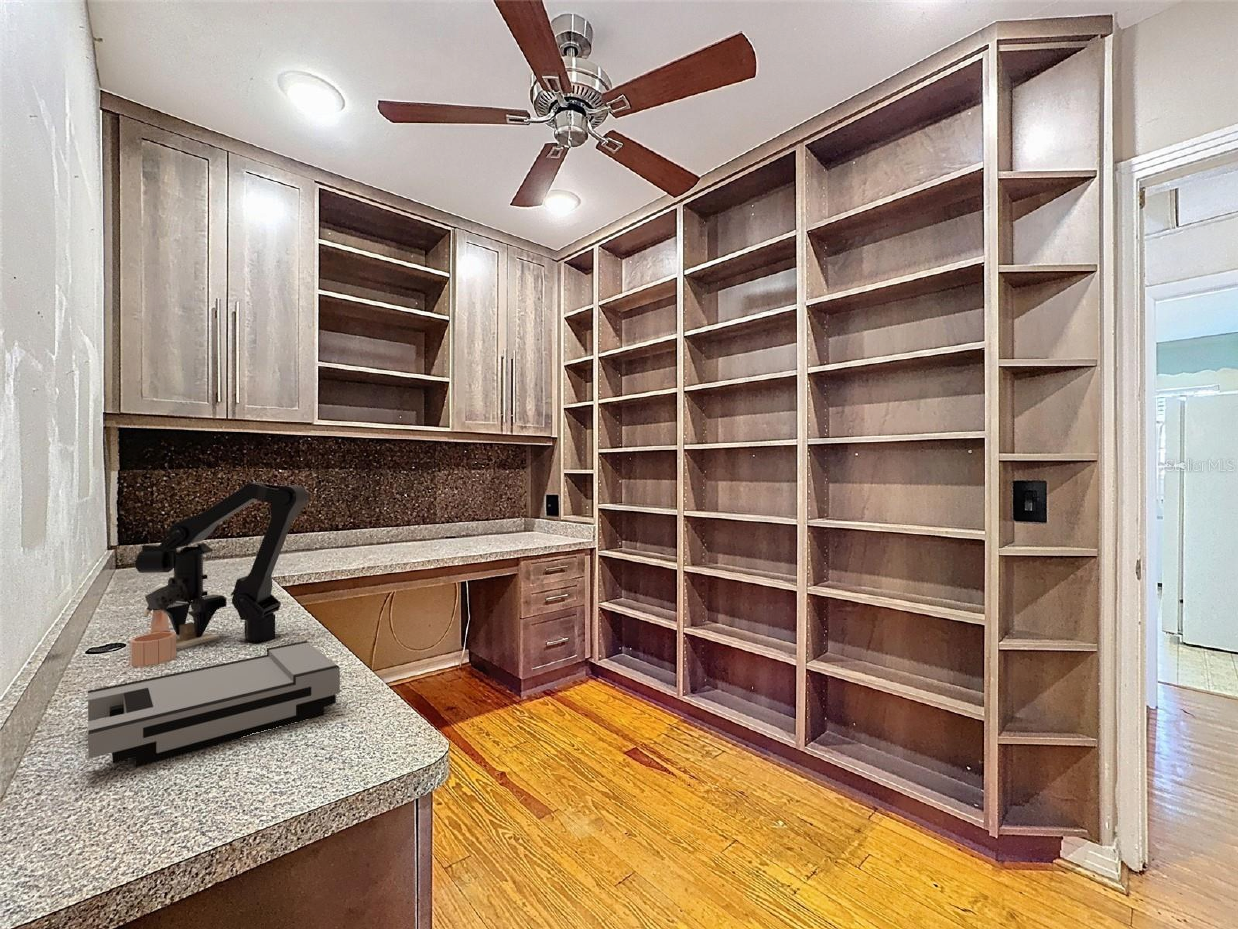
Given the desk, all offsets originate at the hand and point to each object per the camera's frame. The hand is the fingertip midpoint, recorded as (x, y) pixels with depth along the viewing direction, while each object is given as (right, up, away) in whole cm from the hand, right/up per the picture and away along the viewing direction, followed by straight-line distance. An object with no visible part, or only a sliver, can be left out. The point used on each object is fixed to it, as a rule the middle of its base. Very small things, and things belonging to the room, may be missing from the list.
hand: (188, 636), depth 139 cm
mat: (0, -2, 0) cm, 2 cm away
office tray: (+37, -2, -43) cm, 57 cm away
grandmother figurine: (-13, -2, +8) cm, 15 cm away
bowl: (+2, -2, -14) cm, 14 cm away
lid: (0, -1, 0) cm, 1 cm away
